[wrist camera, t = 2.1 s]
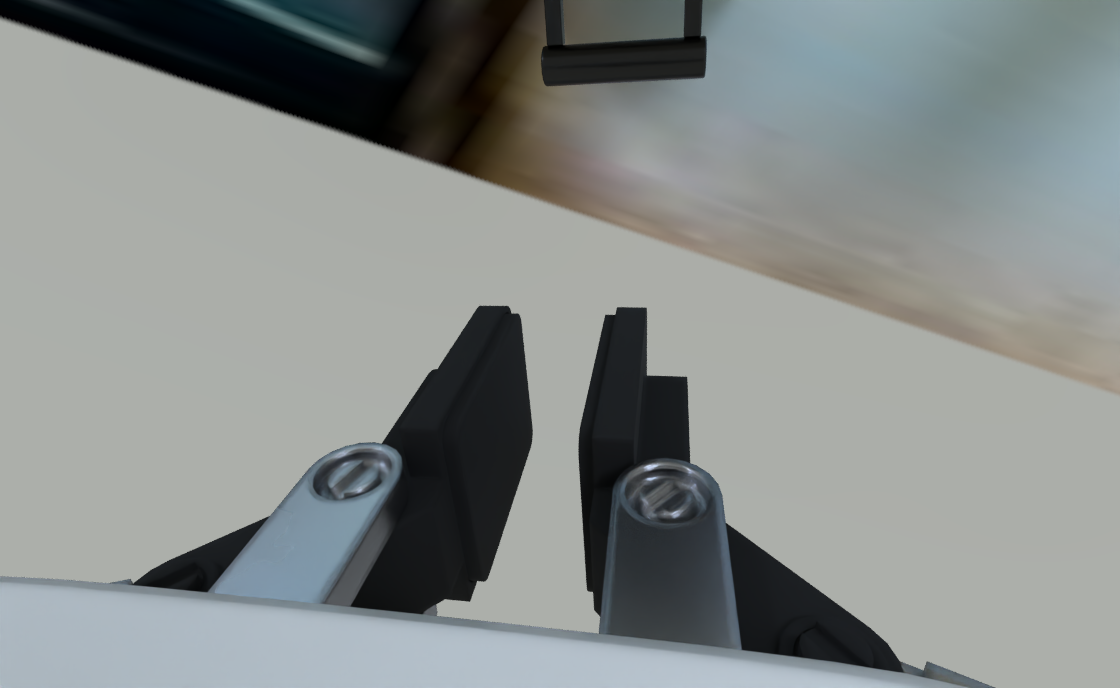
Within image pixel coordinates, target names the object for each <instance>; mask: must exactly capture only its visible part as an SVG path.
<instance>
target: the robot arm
mask: <svg viewBox="0 0 1120 688" xmlns="http://www.w3.org/2000/svg"><path fill="white" fill-rule="evenodd" d="M688 418H689V415H688V385H687V377H673V376H647V308H626V307H618V308H617V310H616V315H605V319H604V323H603V328H602V332H601V337H600V341H599V346H598V350H597V355H596V359H595V363H594V368H593V372H592V377H591V381H590V386H589V390H588V395H587V399H586V404H585V408H584V412H583V417H582V422H581V426H580V433H579V471H580V487H581V500H582V501H581V502H582V518H583V534H584V550H585V564H586V582H587V590H588V591H590V592H593V596H594V610H595V611H596V612H597V613H598V615H599V616H600V625H599V634H597V633H587V632H578V631H569V630H561V629H552V628H543V627H534V626H524V625H515V624H507V623H498V622H488V621H479V620H469V619H460V618H451V617H441V616H437V606H436V604H437V603H439V602H441V601H443V600H444V599H449V600H460V601H469V602H470V600H471V597H472V594H473V591H474V589H475V586H476V583H477V581H483V582H484V581H486V580H487V579H488V576H489V573H490V570H491V567H492V564H493V561H494V558H495V555H496V552H497V549H498V546H499V543H500V540H501V537H502V534H503V530H504V527H505V524H506V521H507V518H508V515H509V512H510V509H511V506H512V503H513V500H514V497H515V494H516V491H517V487H518V485H519V482H520V479H521V476H522V472H523V469H524V466H525V463H526V460H527V457H528V454H529V451H530V448H531V444H532V435H533V433H532V432H533V430H532V419H531V409H530V400H529V391H528V381H527V371H526V362H525V353H524V343H523V333H522V324H521V318H520V315H519V314H511V310H510V308H509V307H508V306H479V307H478V308H477V309H476V311H475V313H474V314H473V316H472V317H471V319H470V320H469V322H468V324H467V325H466V326H465V328H464V329H463V331H462V332H461V334H460V336H459V337H458V339H457V340H456V342H455V343H454V345H453V346H452V348H451V349H450V351H449V353H448V354H447V355H446V357H445V358H444V360H443V361H442V363H441V364H440V366H439V368H438V369H435V370H432V371H431V372H430V373H429V374H428V375H427V377H426V379H425V380H424V381H423V383H422V384H421V386H420V388H419V389H418V390H417V392H416V393H415V395H414V396H413V398H412V399H411V401H410V402H409V404H408V405H407V407H406V408H405V410H404V411H403V413H402V414H401V416H400V417H399V419H398V420H397V422H396V423H395V425H394V426H393V428H392V429H391V431H390V432H389V434H388V435H387V437H386V438H385V440H384V441H383V443H382V444H380V443H375V442H373V443H358V444H354V445H349V446H345V447H343V448H340V449H337V450H335V451H332V452H330V453H329V454H327V455H325V456H324V457H322V458H321V459H319V460H318V461H317V462H316V463H315V464H313V465H312V466H311V467H310V468H309V469H308V471H307V472H306V473H305V474H304V475H303V476H302V478H301V479H300V480H299V481H298V483H297V484H296V485H295V486H294V487H293V489H292V490H291V491H290V492H289V494H288V495H287V496H286V497H285V498H284V500H283V501H282V502H281V503H280V504H279V506H278V507H277V508H276V509H275V511H274V512H273V513H272V514H271V516H269V517H266V518H264V519H262V520H260V521H258V522H255V523H253V524H251V525H248V526H246V527H244V528H242V529H239V530H237V531H235V532H232V533H230V534H228V535H226V536H224V537H221V538H219V539H217V540H214V541H212V542H210V543H208V544H205V545H203V546H201V547H199V548H196V549H194V550H192V551H189V552H187V553H185V554H183V555H180V556H178V557H176V558H173V559H171V560H169V561H167V562H165V563H163V564H161V565H160V566H158V567H156V568H154V569H152V570H150V571H149V572H148V573H146V574H145V575H144V576H143V577H141V578H140V579H138V580H137V581H136V582H135V583H134V584H133V583H132V581H131V579H128V580H123V581H118V582H112V583H98V582H86V581H74V580H61V579H43V578H25V577H5V576H0V688H995V687H992V686H989V685H987V684H984V683H982V682H979V681H977V680H974V679H971V678H969V677H966V676H964V675H961V674H958V673H956V672H953V671H951V670H948V669H945V668H943V667H940V666H937V665H935V664H932V663H930V662H926V665H925V668H924V671H923V670H921V669H918V668H916V667H913V666H911V665H908V664H905V663H903V662H900V661H899V660H898V658H897V657H896V655H895V654H894V653H893V651H892V650H891V648H890V647H889V645H888V644H887V643H886V642H885V641H884V640H883V639H882V638H881V637H880V636H878V635H877V634H876V633H875V632H874V631H873V630H872V629H871V628H869V627H868V626H866V625H865V624H864V623H863V622H861V621H860V620H858V619H857V618H856V617H854V616H853V615H851V614H850V613H849V612H848V611H846V610H845V609H843V608H842V607H841V606H839V605H838V604H837V603H835V602H834V601H832V600H831V599H830V598H828V597H827V596H826V595H824V594H823V593H821V592H820V591H819V590H817V589H816V588H815V587H813V586H812V585H810V584H809V583H808V582H806V581H805V580H804V579H802V578H801V577H799V576H798V575H797V574H795V573H794V572H793V571H791V570H790V569H789V568H787V567H786V566H784V565H783V564H782V563H780V562H779V561H778V560H776V559H775V558H773V557H772V556H771V555H769V554H768V553H767V552H765V551H764V550H762V549H761V548H760V547H758V546H757V545H756V544H754V543H753V542H751V541H750V540H749V539H747V538H746V537H745V536H743V535H742V534H741V533H739V532H738V531H736V530H735V529H734V528H732V527H731V526H729V525H728V524H727V523H726V521H725V514H724V505H723V498H722V493H721V491H720V488H719V485H718V483H717V482H716V481H715V480H714V479H713V477H712V476H711V475H710V474H709V473H707V472H706V471H704V470H703V469H701V468H699V467H698V466H697V465H694V464H691V463H690V447H689V419H688Z"/></svg>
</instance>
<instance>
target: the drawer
mask: <svg viewBox="0 0 1120 688" xmlns="http://www.w3.org/2000/svg"><path fill="white" fill-rule="evenodd" d="M544 5H545V20H546V35H547V46H545V47H543V49H542V56H541V67H542V76H543V81H544V84H545V85H546V86H564V85H583V84H602V83H621V82H640V81H659V80H678V79H697V78H704V77H705V71H706V52H707V39H706V36H701V24H702V0H685V10H684V37H681V38H665V39H650V40H634V41H619V42H603V43H588V44H572V45H564V44H565V32H564V13H563V0H544Z"/></svg>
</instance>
